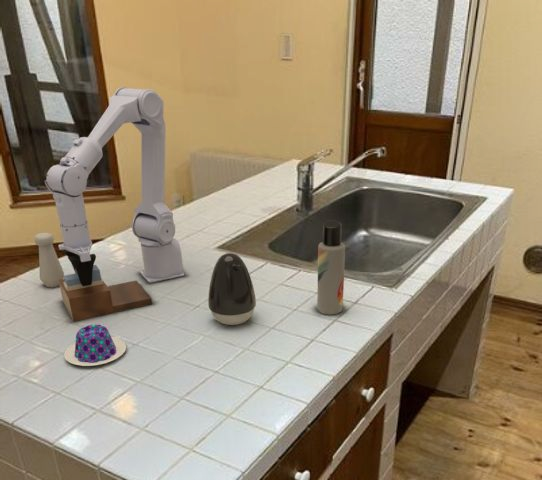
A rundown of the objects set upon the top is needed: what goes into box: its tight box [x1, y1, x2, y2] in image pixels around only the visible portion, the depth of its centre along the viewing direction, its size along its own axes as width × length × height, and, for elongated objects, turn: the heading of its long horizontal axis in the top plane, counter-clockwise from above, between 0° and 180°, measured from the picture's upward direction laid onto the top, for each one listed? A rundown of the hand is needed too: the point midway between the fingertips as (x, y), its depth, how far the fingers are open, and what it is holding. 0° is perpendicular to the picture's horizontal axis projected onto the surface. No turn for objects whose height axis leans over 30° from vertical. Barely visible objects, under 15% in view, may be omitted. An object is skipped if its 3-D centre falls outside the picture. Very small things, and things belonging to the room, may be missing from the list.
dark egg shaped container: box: [207, 252, 257, 326], centre depth 129 cm, size 10×10×15 cm
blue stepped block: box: [63, 264, 104, 291], centre depth 136 cm, size 8×3×4 cm, turn 117°
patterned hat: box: [63, 324, 127, 367], centre depth 120 cm, size 12×12×5 cm
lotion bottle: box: [316, 219, 346, 316], centre depth 131 cm, size 6×6×20 cm
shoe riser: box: [59, 277, 153, 322], centre depth 140 cm, size 18×12×6 cm, turn 117°
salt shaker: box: [34, 232, 65, 288], centre depth 149 cm, size 6×6×13 cm
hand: (84, 281), depth 137 cm, fingers closed on blue stepped block, 3 cm apart
